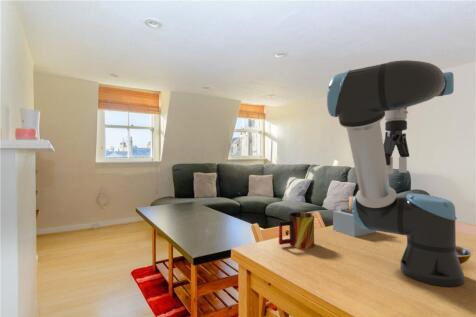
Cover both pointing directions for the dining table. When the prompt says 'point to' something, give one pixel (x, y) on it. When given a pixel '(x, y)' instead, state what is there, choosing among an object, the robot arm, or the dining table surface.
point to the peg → (350, 203)
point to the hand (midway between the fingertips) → (396, 173)
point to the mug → (299, 230)
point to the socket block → (348, 223)
